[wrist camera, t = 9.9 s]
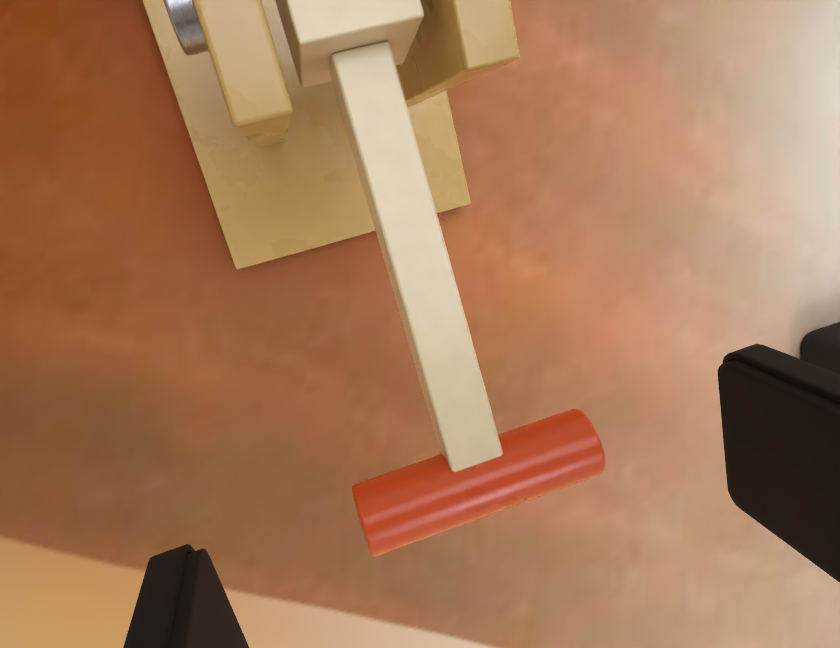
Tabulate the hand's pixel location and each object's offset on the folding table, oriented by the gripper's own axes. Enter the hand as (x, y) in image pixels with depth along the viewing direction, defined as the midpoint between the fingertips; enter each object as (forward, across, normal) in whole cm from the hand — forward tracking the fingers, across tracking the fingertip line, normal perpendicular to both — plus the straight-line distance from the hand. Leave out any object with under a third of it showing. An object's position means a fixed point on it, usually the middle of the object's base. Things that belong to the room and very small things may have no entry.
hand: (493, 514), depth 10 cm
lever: (+4, 0, -4) cm, 6 cm away
